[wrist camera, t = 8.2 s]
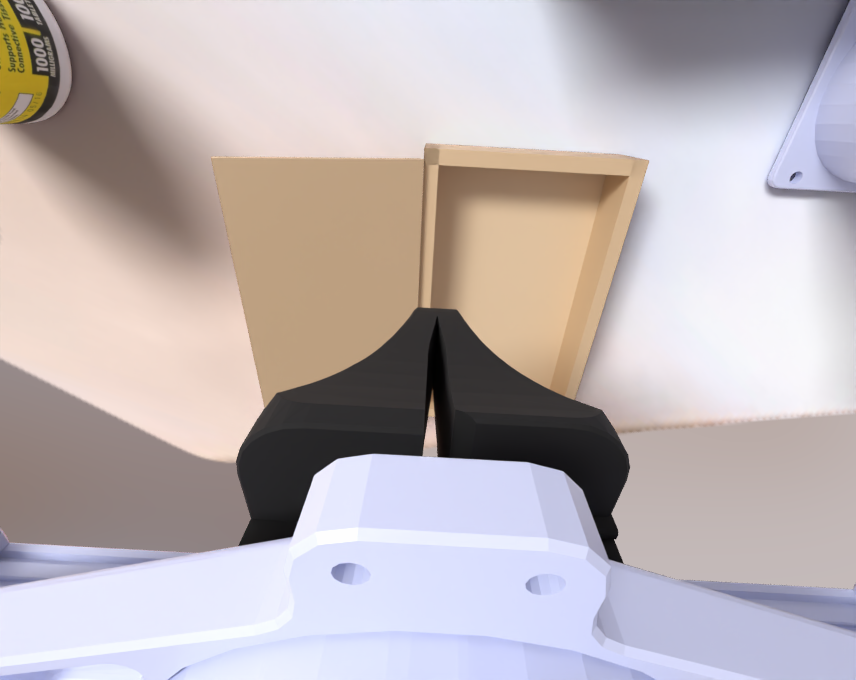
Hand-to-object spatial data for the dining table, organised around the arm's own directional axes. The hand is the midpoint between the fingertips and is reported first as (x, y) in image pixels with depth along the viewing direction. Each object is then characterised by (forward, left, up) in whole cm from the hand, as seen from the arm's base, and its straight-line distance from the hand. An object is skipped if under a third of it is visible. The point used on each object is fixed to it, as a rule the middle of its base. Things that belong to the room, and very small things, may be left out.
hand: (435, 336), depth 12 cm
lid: (+4, +2, -5) cm, 6 cm away
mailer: (-4, +2, -9) cm, 10 cm away
